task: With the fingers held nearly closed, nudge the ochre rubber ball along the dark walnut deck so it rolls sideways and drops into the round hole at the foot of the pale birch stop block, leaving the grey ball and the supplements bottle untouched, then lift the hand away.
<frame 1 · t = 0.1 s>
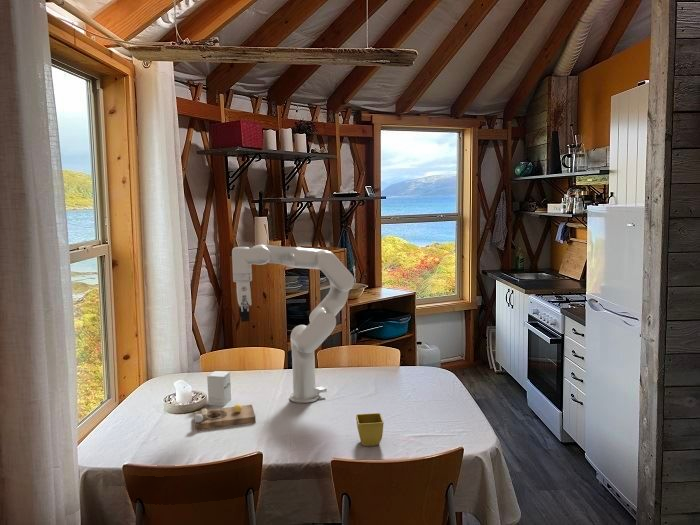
hand: (244, 318, 221), 37 cm above the table, tool pointing down, fingers open, 9 cm apart
ball: (237, 408, 211), point 4 cm above the table, touching deck
flower pot: (369, 443, 188), on the table
supplement box: (220, 402, 229), on the table
deck: (225, 420, 210), on the table
grey ball: (198, 418, 202), point 4 cm above the table, touching deck
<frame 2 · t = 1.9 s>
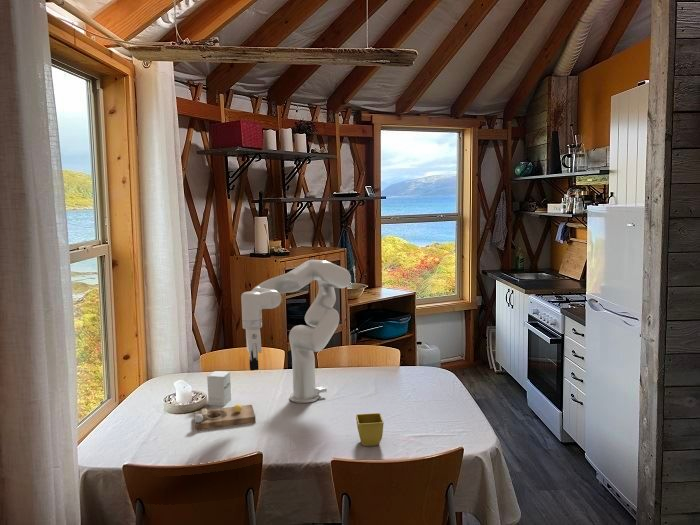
hand: (254, 369, 211), 19 cm above the table, tool pointing down, fingers closed
nothing on the table moved.
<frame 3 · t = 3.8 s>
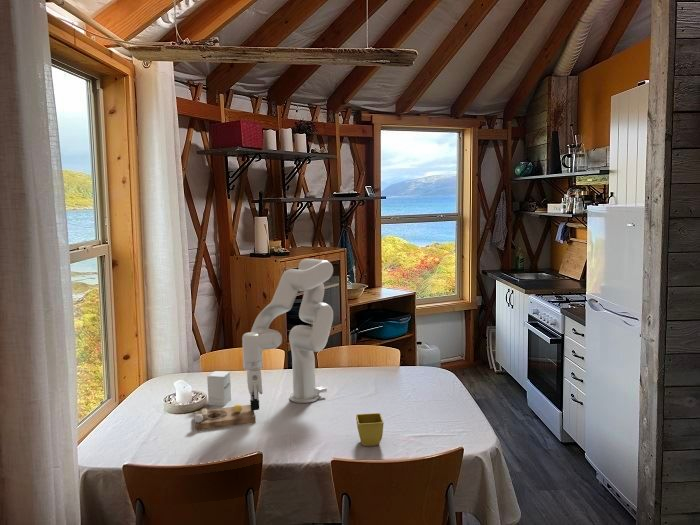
hand: (255, 409, 213), 3 cm above the table, tool pointing down, fingers closed
nothing on the table moved.
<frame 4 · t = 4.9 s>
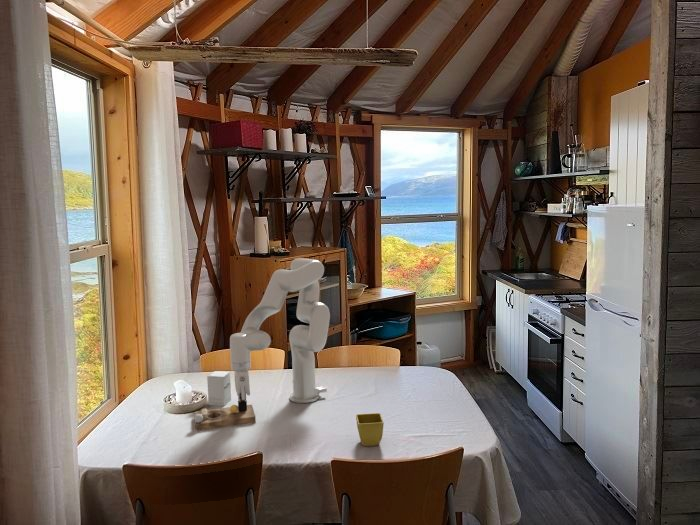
hand: (242, 410, 211), 3 cm above the table, tool pointing down, fingers closed
ball: (234, 408, 210), point 4 cm above the table, tilted 50°, touching deck
everything else where it was.
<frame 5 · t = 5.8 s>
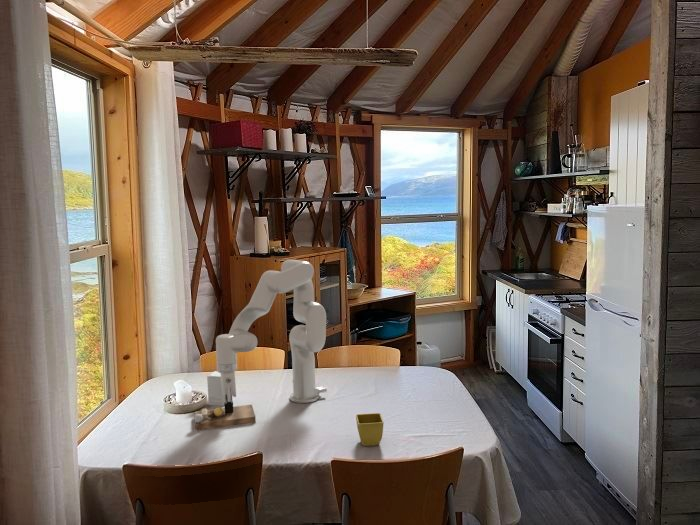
hand: (229, 412, 210), 3 cm above the table, tool pointing down, fingers closed
ball: (218, 411, 209), point 4 cm above the table, tilted 95°, touching deck
everything else where it was.
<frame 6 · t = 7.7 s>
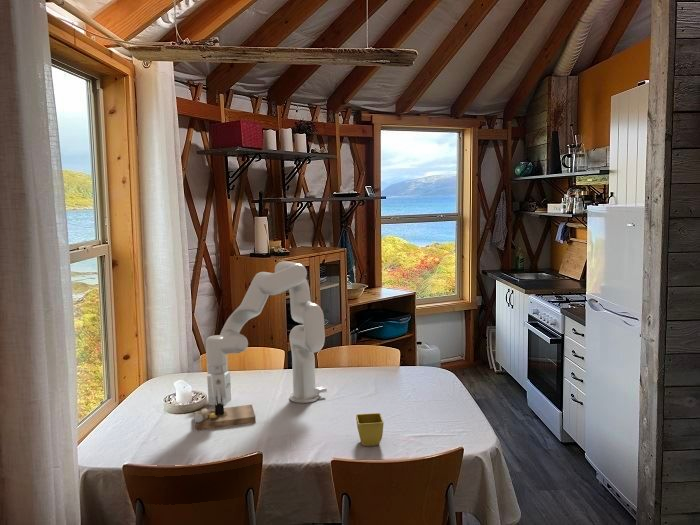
hand: (219, 413, 209), 3 cm above the table, tool pointing down, fingers closed
ball: (213, 417, 209), point 2 cm above the table, tilted 49°, touching gripper
everything else where it was.
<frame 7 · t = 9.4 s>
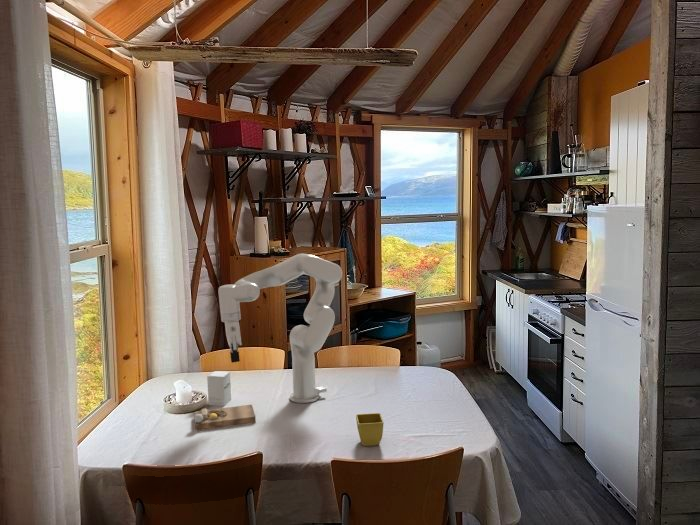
hand: (235, 361, 214), 22 cm above the table, tool pointing down, fingers closed
ball: (213, 417, 209), point 2 cm above the table, tilted 49°
everything else where it was.
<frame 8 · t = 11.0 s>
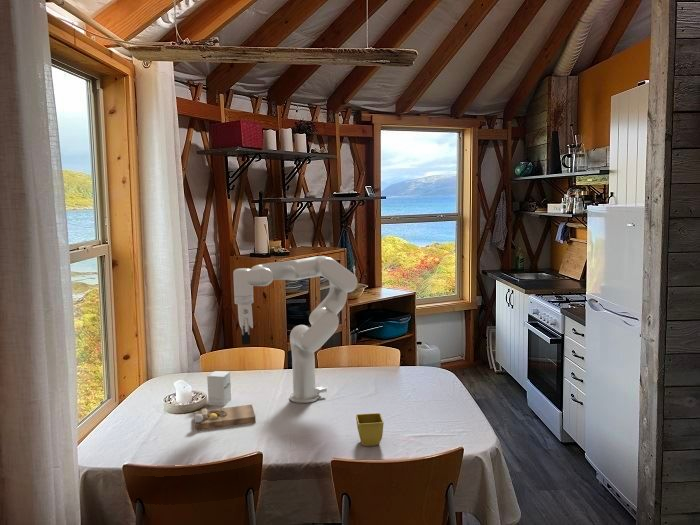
hand: (246, 343, 218), 27 cm above the table, tool pointing down, fingers closed
nothing on the table moved.
at the end: ball 0.5 cm from the target spot in the deck, point 1.6 cm above the deck's base; grey ball moved 0.1 cm from its start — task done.
